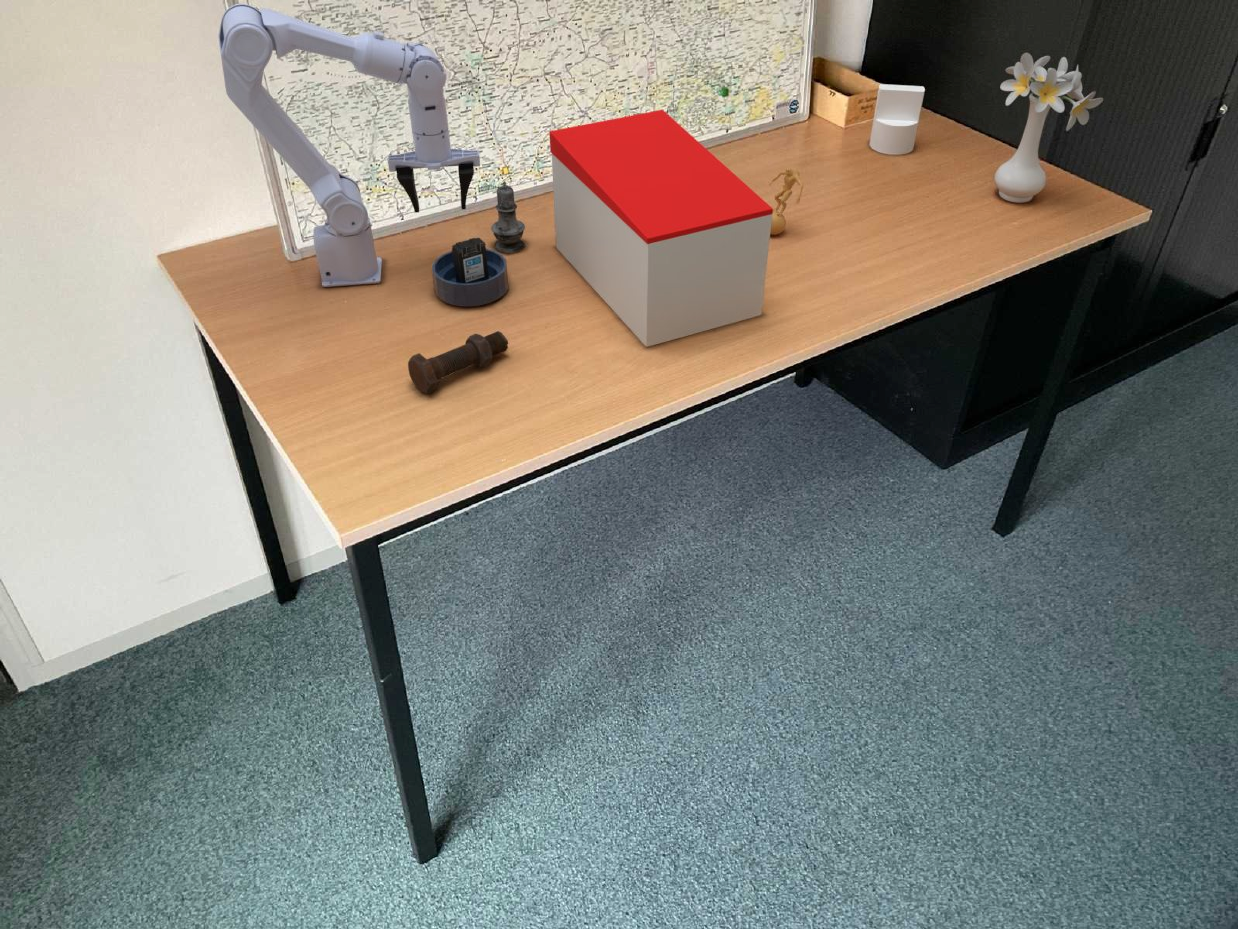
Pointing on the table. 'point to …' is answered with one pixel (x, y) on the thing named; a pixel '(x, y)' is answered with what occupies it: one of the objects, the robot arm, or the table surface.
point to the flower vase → (1038, 121)
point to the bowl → (470, 291)
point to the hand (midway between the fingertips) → (440, 208)
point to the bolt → (455, 360)
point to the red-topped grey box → (658, 226)
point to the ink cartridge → (470, 261)
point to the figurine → (784, 198)
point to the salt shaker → (507, 222)
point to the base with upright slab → (896, 118)
